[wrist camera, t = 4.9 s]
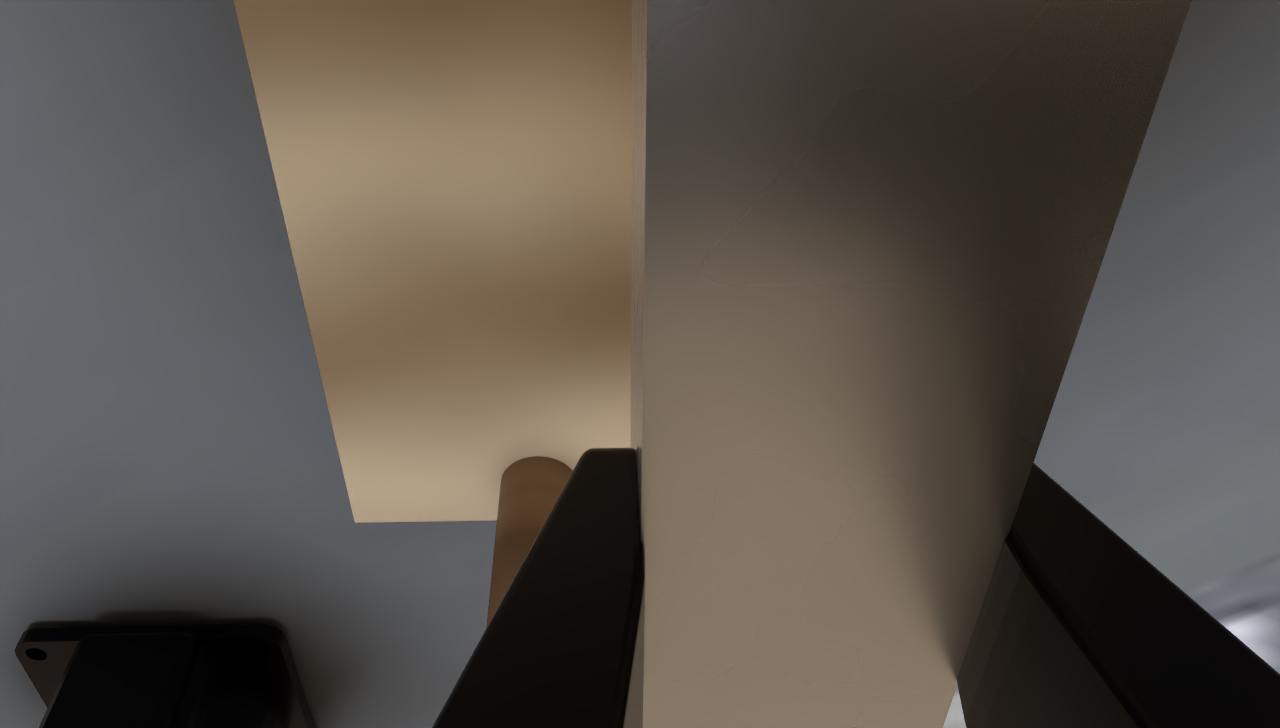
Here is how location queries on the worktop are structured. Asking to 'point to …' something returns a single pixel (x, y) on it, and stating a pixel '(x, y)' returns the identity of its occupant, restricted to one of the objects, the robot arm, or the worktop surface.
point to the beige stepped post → (857, 326)
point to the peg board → (457, 242)
